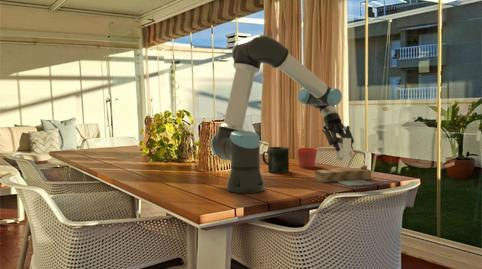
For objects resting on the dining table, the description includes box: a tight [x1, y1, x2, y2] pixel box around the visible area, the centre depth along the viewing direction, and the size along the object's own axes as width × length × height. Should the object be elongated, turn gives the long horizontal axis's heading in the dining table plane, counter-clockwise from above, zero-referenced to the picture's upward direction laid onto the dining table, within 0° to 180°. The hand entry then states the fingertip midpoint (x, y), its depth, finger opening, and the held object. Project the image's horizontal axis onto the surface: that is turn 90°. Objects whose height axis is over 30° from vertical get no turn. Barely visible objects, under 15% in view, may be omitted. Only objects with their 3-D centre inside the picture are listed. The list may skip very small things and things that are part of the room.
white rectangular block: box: [335, 136, 352, 162], centre depth 185 cm, size 4×6×10 cm, turn 14°
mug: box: [261, 146, 290, 174], centre depth 209 cm, size 11×15×12 cm
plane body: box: [314, 164, 372, 183], centre depth 186 cm, size 24×7×6 cm, turn 104°
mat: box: [337, 179, 374, 187], centre depth 175 cm, size 12×9×1 cm
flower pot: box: [296, 147, 318, 168], centre depth 223 cm, size 11×11×10 cm
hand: (347, 156), depth 182 cm, fingers closed on white rectangular block, 4 cm apart
